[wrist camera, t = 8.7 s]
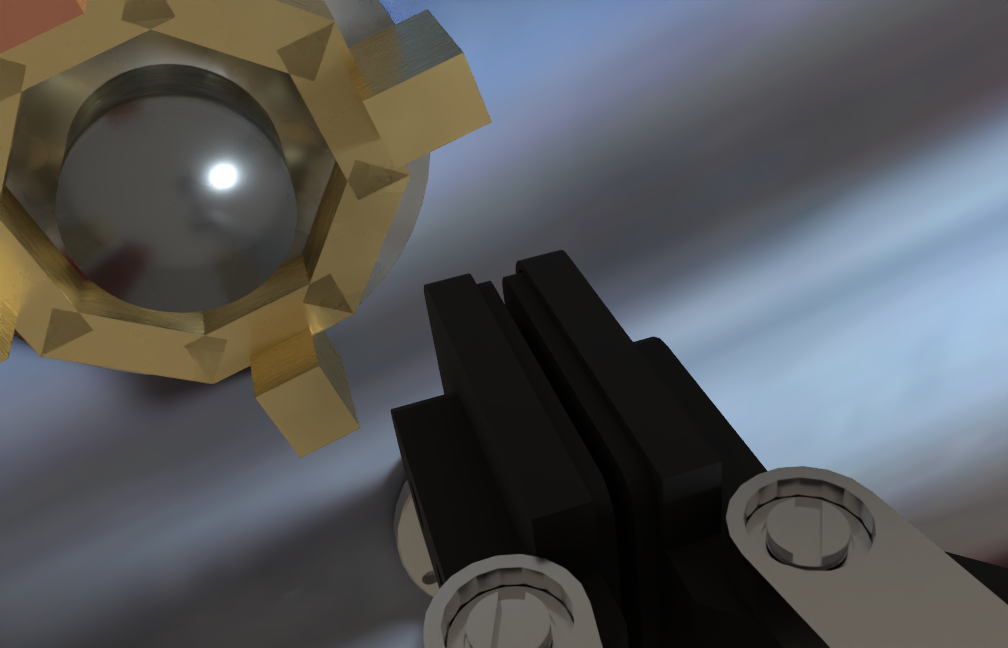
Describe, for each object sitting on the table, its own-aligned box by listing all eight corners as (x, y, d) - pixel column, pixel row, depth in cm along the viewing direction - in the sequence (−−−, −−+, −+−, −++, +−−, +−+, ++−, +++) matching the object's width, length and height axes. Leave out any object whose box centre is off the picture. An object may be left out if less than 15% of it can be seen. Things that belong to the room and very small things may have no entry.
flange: (422, 330, 37) (450, 400, 33) (-36, 387, 32) (-60, 474, 29) (425, -140, 27) (466, -113, 24) (-212, -150, 23) (-278, -119, 20)
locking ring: (473, 25, 29) (513, 70, 26) (326, 389, 35) (344, 463, 32) (-51, -171, 23) (-86, -146, 19) (-122, 315, 29) (-157, 398, 25)
